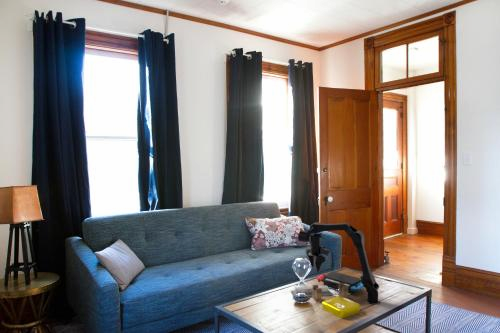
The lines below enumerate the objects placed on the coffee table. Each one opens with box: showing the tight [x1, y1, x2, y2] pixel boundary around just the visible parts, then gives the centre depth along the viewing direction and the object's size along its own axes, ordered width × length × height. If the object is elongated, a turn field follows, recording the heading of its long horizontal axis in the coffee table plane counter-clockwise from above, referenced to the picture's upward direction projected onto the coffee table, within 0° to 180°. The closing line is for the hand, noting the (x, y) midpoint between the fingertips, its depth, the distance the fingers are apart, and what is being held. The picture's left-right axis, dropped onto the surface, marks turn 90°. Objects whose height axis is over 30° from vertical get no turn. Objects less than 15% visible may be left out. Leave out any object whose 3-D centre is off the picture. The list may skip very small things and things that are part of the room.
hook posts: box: [311, 283, 349, 303], centre depth 214 cm, size 6×19×8 cm, turn 101°
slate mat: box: [290, 289, 334, 298], centre depth 221 cm, size 9×23×1 cm, turn 101°
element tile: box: [321, 295, 361, 319], centre depth 199 cm, size 15×15×5 cm
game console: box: [316, 270, 365, 295], centre depth 231 cm, size 28×6×15 cm
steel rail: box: [294, 284, 329, 294], centre depth 221 cm, size 3×20×3 cm, turn 101°
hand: (315, 269), depth 226 cm, fingers open, 9 cm apart
